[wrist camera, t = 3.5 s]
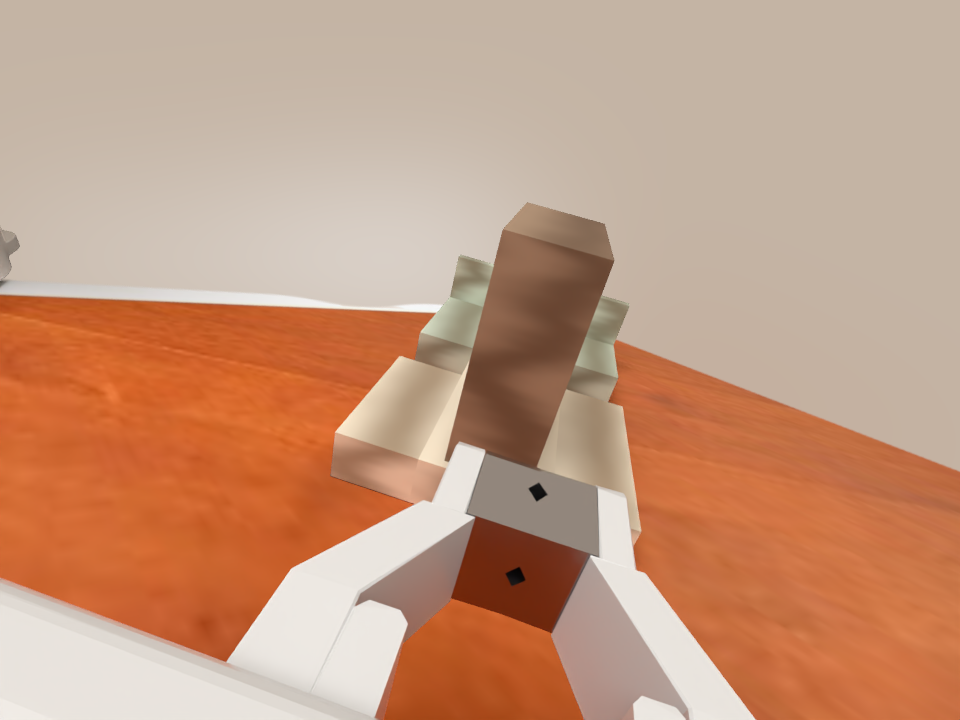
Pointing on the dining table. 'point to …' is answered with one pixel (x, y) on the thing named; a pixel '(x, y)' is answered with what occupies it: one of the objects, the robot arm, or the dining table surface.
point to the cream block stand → (436, 394)
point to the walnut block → (531, 331)
